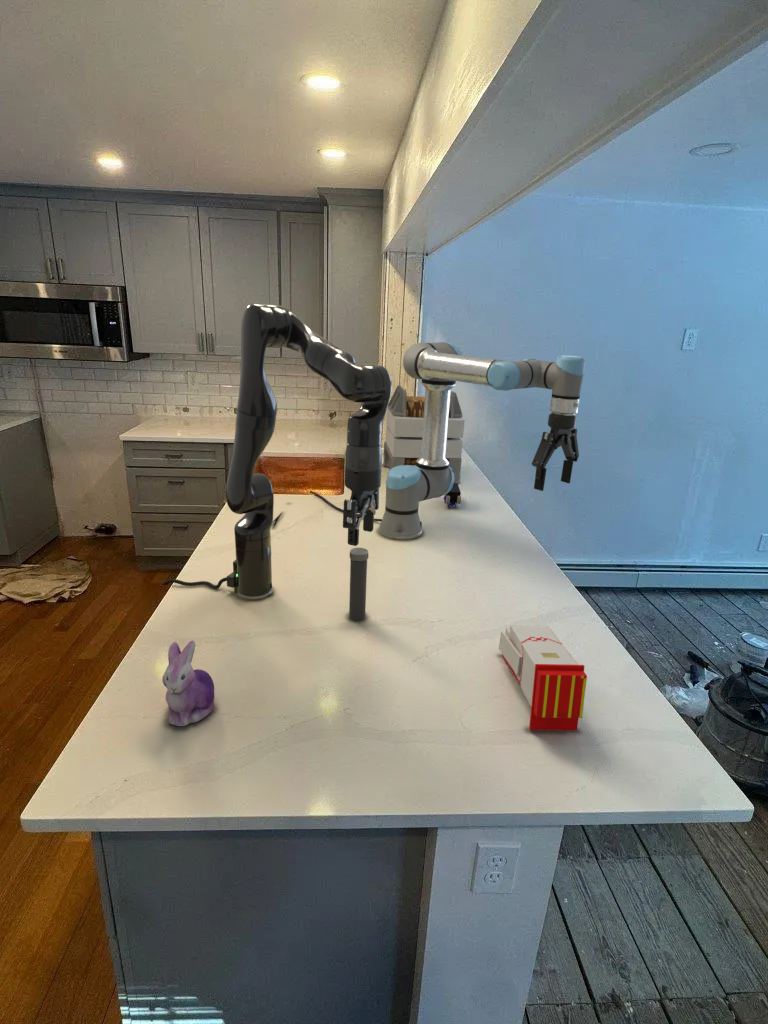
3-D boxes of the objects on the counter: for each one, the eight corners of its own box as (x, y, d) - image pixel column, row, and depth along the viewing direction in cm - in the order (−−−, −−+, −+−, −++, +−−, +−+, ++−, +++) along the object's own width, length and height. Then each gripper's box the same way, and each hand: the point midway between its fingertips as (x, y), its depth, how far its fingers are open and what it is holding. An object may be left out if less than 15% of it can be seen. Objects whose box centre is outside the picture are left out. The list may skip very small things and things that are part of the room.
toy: (545, 610, 133) (596, 671, 104) (540, 662, 136) (588, 737, 106) (494, 609, 133) (530, 670, 103) (490, 662, 135) (524, 736, 106)
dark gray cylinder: (351, 621, 143) (353, 557, 137) (347, 613, 147) (348, 550, 140) (367, 619, 144) (369, 555, 138) (362, 611, 148) (364, 548, 142)
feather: (289, 506, 225) (292, 502, 225) (272, 529, 199) (275, 525, 198) (286, 503, 225) (288, 500, 225) (268, 527, 199) (271, 522, 198)
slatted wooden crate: (382, 463, 289) (386, 382, 275) (445, 464, 293) (451, 384, 279) (390, 482, 257) (394, 392, 243) (460, 483, 261) (468, 394, 247)
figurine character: (461, 513, 227) (456, 497, 240) (463, 496, 223) (458, 481, 237) (444, 512, 226) (440, 496, 240) (446, 495, 223) (442, 480, 237)
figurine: (169, 735, 103) (162, 665, 98) (162, 702, 111) (154, 636, 106) (222, 721, 107) (218, 653, 102) (211, 689, 115) (206, 625, 110)
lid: (352, 562, 137) (352, 555, 136) (347, 554, 141) (347, 548, 140) (370, 560, 139) (371, 554, 138) (364, 552, 143) (365, 546, 142)
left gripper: (359, 455, 124) (357, 524, 129) (332, 470, 111) (330, 546, 117) (391, 459, 122) (388, 529, 127) (367, 476, 109) (364, 553, 114)
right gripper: (548, 419, 148) (537, 496, 155) (598, 411, 163) (586, 482, 171) (525, 414, 153) (515, 489, 160) (575, 407, 169) (564, 476, 176)
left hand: (360, 537), depth 122 cm, fingers open, 8 cm apart
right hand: (552, 485), depth 166 cm, fingers open, 13 cm apart
